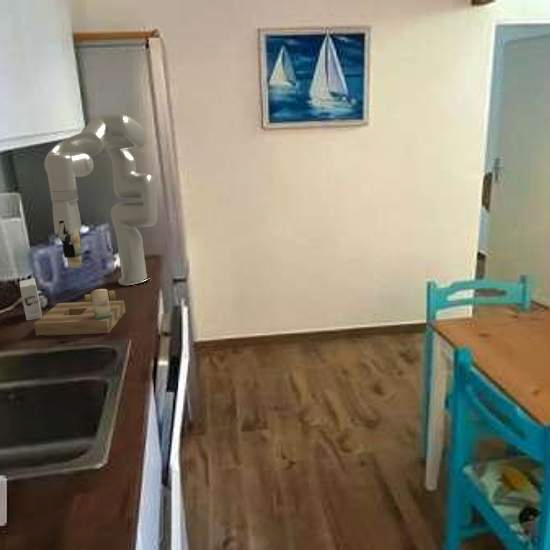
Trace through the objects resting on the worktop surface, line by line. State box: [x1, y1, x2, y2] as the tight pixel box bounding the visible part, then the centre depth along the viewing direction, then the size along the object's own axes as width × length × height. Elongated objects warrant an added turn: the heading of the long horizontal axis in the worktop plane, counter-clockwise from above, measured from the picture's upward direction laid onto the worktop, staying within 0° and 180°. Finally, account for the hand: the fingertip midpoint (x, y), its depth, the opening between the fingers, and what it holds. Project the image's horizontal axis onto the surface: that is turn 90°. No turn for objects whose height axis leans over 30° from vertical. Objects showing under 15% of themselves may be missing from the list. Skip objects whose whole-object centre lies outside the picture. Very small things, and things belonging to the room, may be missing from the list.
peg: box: [65, 228, 83, 269], centre depth 159 cm, size 5×5×12 cm
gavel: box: [84, 285, 117, 302], centre depth 189 cm, size 21×5×10 cm
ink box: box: [19, 278, 43, 321], centre depth 172 cm, size 8×5×12 cm, turn 27°
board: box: [33, 288, 126, 337], centre depth 163 cm, size 18×22×12 cm
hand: (73, 254), depth 160 cm, fingers closed on peg, 4 cm apart
